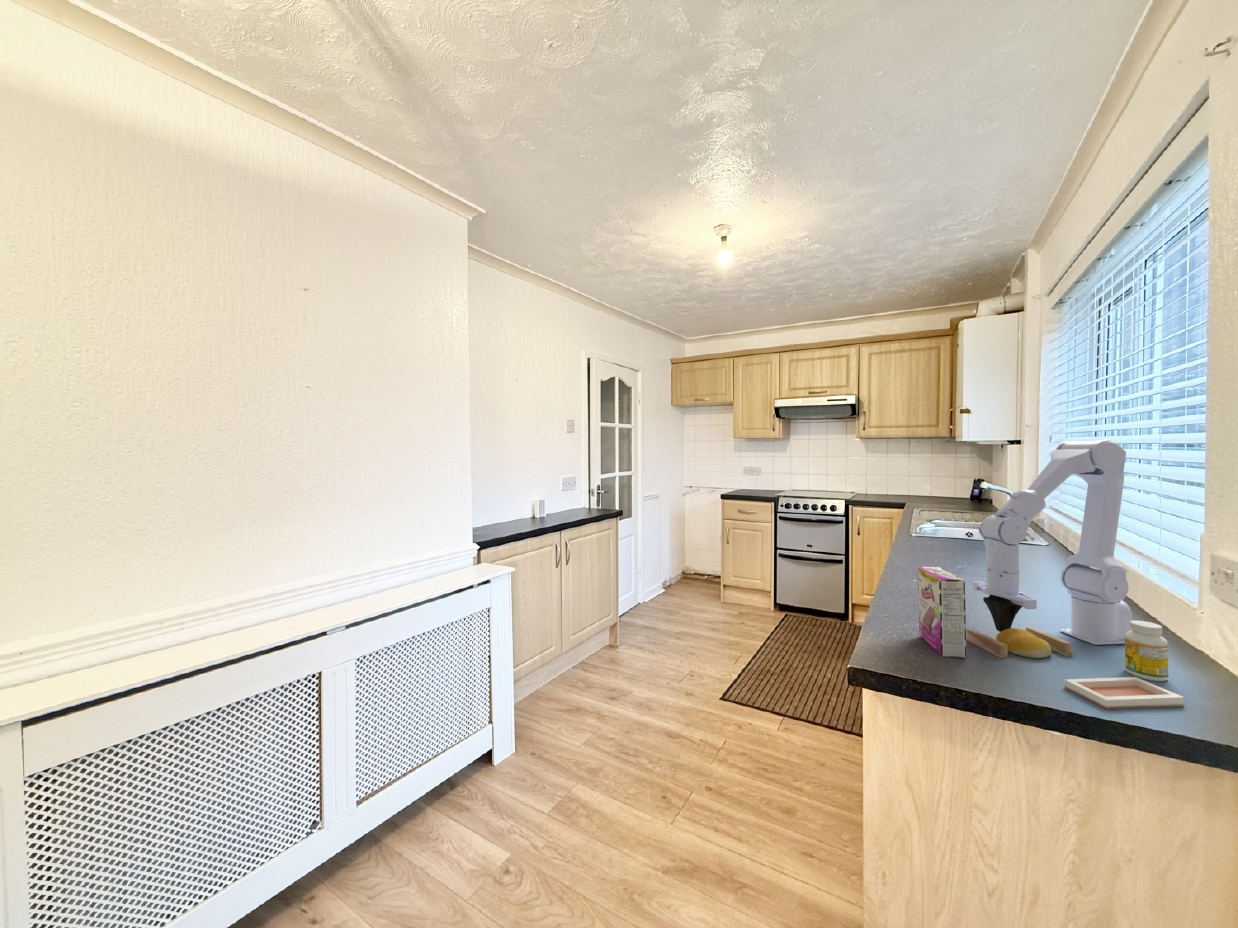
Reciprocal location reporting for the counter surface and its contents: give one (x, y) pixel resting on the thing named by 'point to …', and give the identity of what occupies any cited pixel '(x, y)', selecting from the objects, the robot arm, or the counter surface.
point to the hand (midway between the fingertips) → (1003, 631)
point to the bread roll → (1024, 643)
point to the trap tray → (1123, 693)
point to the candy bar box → (942, 611)
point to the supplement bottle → (1146, 651)
